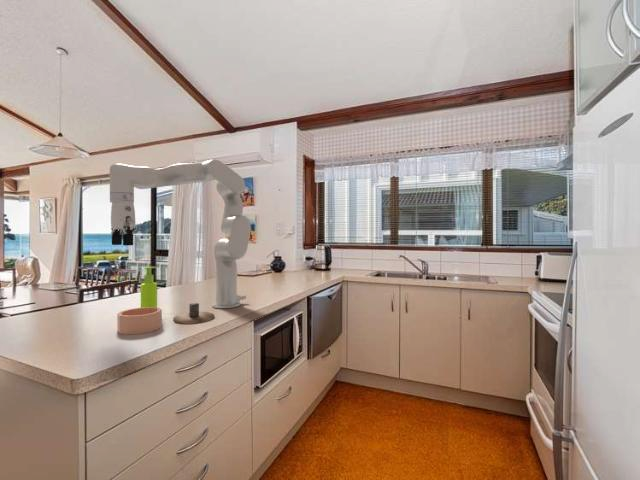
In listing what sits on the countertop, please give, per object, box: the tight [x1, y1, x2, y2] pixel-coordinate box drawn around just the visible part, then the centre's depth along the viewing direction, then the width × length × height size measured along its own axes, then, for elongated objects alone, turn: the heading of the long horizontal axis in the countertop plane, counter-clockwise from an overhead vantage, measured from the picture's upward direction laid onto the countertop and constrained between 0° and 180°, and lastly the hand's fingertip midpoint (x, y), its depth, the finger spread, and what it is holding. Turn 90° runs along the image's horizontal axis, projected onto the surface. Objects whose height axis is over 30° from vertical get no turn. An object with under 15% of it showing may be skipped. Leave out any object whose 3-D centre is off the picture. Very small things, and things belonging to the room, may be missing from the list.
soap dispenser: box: [140, 266, 158, 308], centre depth 126 cm, size 6×7×20 cm
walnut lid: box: [172, 302, 215, 325], centre depth 121 cm, size 15×15×6 cm
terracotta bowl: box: [116, 307, 163, 335], centre depth 108 cm, size 13×13×6 cm
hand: (122, 245), depth 113 cm, fingers open, 9 cm apart
